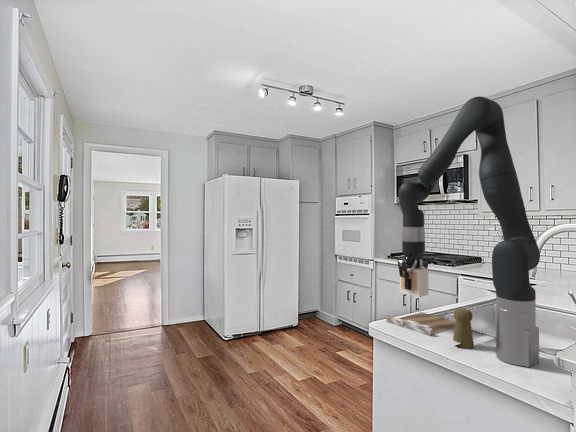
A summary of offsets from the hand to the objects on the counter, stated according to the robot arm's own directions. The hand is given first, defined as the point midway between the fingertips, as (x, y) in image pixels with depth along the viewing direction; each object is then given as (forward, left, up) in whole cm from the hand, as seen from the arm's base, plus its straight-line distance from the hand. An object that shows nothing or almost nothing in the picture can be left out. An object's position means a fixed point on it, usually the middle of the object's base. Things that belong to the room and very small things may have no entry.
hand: (413, 288), depth 124 cm
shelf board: (-1, -5, -14) cm, 15 cm away
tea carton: (0, 0, -2) cm, 2 cm away
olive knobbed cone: (-18, 0, -15) cm, 23 cm away
